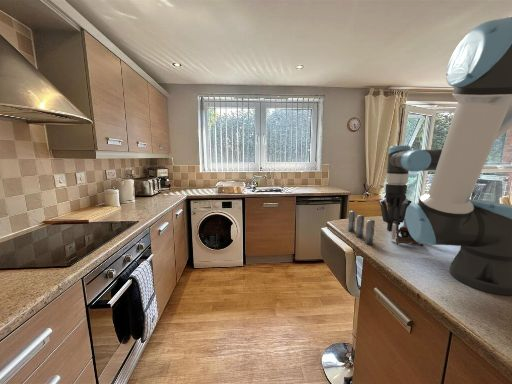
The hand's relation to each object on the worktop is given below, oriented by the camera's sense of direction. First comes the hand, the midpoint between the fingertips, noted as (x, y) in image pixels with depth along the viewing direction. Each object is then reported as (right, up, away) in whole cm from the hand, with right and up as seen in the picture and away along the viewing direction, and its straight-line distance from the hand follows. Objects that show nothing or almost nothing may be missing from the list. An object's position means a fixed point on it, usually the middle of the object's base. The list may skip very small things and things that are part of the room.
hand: (391, 238), depth 95 cm
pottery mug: (+5, -2, -2) cm, 6 cm away
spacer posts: (0, 0, +6) cm, 6 cm away
